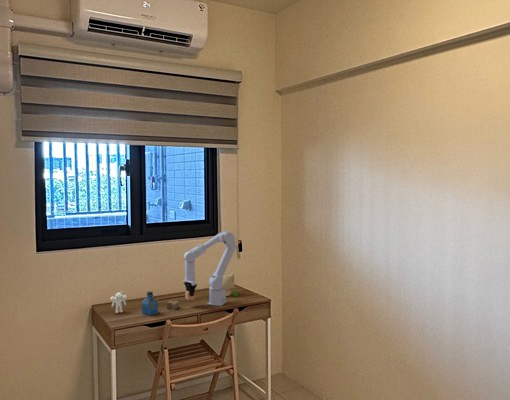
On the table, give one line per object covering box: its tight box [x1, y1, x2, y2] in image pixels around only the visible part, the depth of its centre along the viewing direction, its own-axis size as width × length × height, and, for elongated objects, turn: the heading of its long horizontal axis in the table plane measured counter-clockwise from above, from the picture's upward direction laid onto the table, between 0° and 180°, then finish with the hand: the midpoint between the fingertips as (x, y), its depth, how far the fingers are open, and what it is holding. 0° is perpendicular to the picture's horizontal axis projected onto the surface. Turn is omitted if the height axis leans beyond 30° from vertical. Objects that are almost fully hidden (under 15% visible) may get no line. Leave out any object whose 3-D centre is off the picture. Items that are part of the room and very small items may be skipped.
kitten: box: [221, 272, 239, 298], centre depth 299 cm, size 15×10×15 cm
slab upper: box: [166, 300, 180, 307], centre depth 272 cm, size 5×5×2 cm
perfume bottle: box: [141, 291, 159, 317], centre depth 263 cm, size 6×6×12 cm
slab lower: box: [166, 305, 180, 311], centre depth 273 cm, size 5×5×2 cm
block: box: [184, 290, 196, 301], centre depth 276 cm, size 4×4×4 cm
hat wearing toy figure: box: [110, 290, 128, 314], centre depth 265 cm, size 9×4×12 cm, turn 118°
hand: (190, 295), depth 276 cm, fingers closed on block, 4 cm apart
